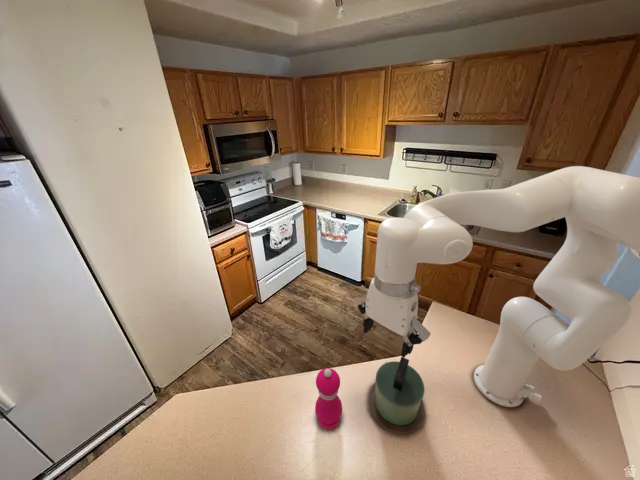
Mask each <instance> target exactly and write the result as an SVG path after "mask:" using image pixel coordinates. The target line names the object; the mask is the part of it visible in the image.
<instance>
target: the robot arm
mask: <svg viewBox="0 0 640 480" xmlns="http://www.w3.org/2000/svg"><path fill="white" fill-rule="evenodd" d="M564 218H565V222H566V228H567V229H566V230H567V232H566V238H565V241H564V243H563V244H562V245H561V247H560V248H559V250H558V251H557V252H556V254H555V255H554V256H553V257H552V258H551V260H550V261H549V262H548V263H547V265H546V266H545V267H544V269H543V270H541V272H540V273H539V275H538V276H537V278H535V281H534V282H533V285H532V288H533V291H534V293H535V294H536V295H537V296H538V297H539V298H540V299H541V300H543V301H544V302H545V303H547V304H548V305H549V306H550V307H552V308H553V309H555V310H556V311H557V312H559V313H560V314H561V315H562V316H564V317H565V318H567V319H568V320H569V321H570V323H567V322H566V321H565V320H564V319H562V318H561V317H560V316H558V315H557V313H555V312H553V311H552V310H551V309H549V308H548V307H547V306H545V305H544V304H542V303H541V302H539V301H537V300H535V299H533V298H531V297H528V296H516V297H513V298H511V299H509V300H508V301H507V302H506V303H505V304H504V305H503V307H502V310H501V312H500V318H499V320H500V321H499V328H498V331H497V334H496V336H495V339H494V341H493V344H492V346H491V348H490V351H489V352H488V355H487V358H486V360H485V363H484V364H480V365H478V367H476V368H475V370H474V371H473V381H474V384H475V385H476V387H477V389H478V390H479V391H480V393H481V394H482V395H483V396H484V397H486V398H487V400H490V401H491V402H493V403H495V404H497V405H499V406H502V407H505V408H516V407H518V406H520V405H521V404H522V403H523V402H524V400H525V399H527V398H528V399H531V400H532V401H534V402H537V403H539V404H540V403H542V399H543V397H542V395H541V394H538V393H536V392H535V390H536V388H535V386H534V385H531V384H529V383H528V384H527V383H526V381H527V379H528V378H529V375H530V374H531V372H532V370H533V368H534V367H535V365H536V364H537V362H538V360H539V358H540V359H541V360H542V361H543V362H544V363H546V365H548V366H549V367H551V368H553V369H554V370H556V371H562V372H567V371H568V372H569V371H572V370H575V369H577V368H578V367H580V366H581V365H582V364H584V363H585V362H586V361H588V360H589V359H590V358H591V357H592V356H593V355H594V354H595V353H596V352H597V351H598V350H600V349H601V348H602V347H603V346H604V345H605V344H606V343H607V342H608V341H610V340H611V338H612V337H614V336H615V335H616V334H617V333H618V332H619V331H620V330H621V329H622V328H623V327H624V326H626V324H627V323H628V321H629V319H630V317H631V315H632V312H633V311H632V305H631V303H630V301H629V300H628V298H626V297H625V296H623V295H622V294H620V293H618V291H616V290H613V289H612V288H610V287H609V286H606V285H604V284H603V283H601V279H602V277H603V276H604V275H605V274H606V273H607V272H608V271H609V269H610V268H611V267H612V266H613V264H615V262H616V261H617V257H618V244H619V245H622V246H625V247H626V248H629V249H631V250H635V251H638V252H640V177H637V176H633V175H629V174H623V173H619V172H614V171H611V170H610V171H609V170H604V169H600V168H594V167H590V166H584V165H574V166H573V165H572V166H567V167H563V168H560V169H556V170H554V171H551V172H548V173H545V174H542V175H539V176H537V177H534V178H530V179H527V180H525V181H522V182H519V183H517V184H514V185H510V186H507V187H505V188H499V189H498V188H497V189H496V188H495V189H494V188H493V189H480V190H469V191H459V192H452V193H447V194H442V195H439V196H436V197H434V198H431V199H428V200H425V201H423V202H420V203H419V204H417V205H414V206H413V207H412V208H411V209H409V210H408V211H407V212H406V214H405V216H404V217H391V218H387V219H384V220H383V221H382V222H381V223H380V224H379V225H378V229H377V236H376V250H375V261H374V274H373V277H372V278H371V281H370V284H369V287H368V290H367V294H357V295H356V296H355V297H354V300H355V303H356V305H357V309H358V311H359V312H360V314H361V315H360V317H361V319H363V320H362V321H363V322H362V326H363V333H364V334H368V333H369V331H370V330H371V329H372V328H373V327H374V322H376V323H378V324H379V325H381V326H383V327H385V328H386V329H387V330H390V331H391V332H393V333H395V334H397V335H399V336H401V337H402V339H403V341H404V342H403V343H402V347H401V353H400V356H401V357H403V358H406V356H407V355H410V354H411V353H412V352H413V349H414V345H421V344H422V342H425V341H427V340H429V338H430V336H431V332H430V331H429V330H428V329H427V327H425V326H424V324H423V323H421V322H420V321H419V319H418V313H419V312H418V311H419V310H418V309H419V295H418V293H420V291H421V289H422V286H421V285H419V284H418V283H417V282H416V281H417V277H416V272H417V268H418V264H419V263H420V264H432V265H452V264H455V263H456V264H457V263H459V262H461V261H463V260H465V259H466V258H467V257H468V256H469V255H470V253H471V252H472V249H473V246H474V241H473V238H472V235H471V234H470V233H469V231H468V230H467V229H466V228H464V227H463V225H464V226H465V225H466V226H468V225H469V226H476V227H481V228H485V229H489V230H494V231H500V232H501V231H502V232H508V233H523V232H526V231H529V230H531V229H534V228H535V229H536V228H537V227H540V226H543V225H546V224H549V223H551V222H554V221H557V220H561V219H564Z"/></svg>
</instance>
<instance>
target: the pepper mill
mask: <svg viewBox="0 0 640 480" xmlns="http://www.w3.org/2000/svg"><path fill="white" fill-rule="evenodd" d="M315 386H316V389H317V391H318V394H319V395H318V396H317V399H316V401H315V406H314V409H315V414H316V415H315V416H316V417H317V421H318V424H319V425H320V426H321V427H322V428H324V429H326V430H333V429H334V428H336V427H337V426H338V425H339V424H340V421H341V416H342V413H343V403H342V401H341V398H340V397H339V395H338V394H339V390H340V386H341V377H340V375H339V373H338V372H337V371H336V370H335V369H333V368H330V367H325V368H323V369H321V370H320V371H319V372H318V373H317V375H316V378H315Z"/></svg>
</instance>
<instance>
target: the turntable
mask: <svg viewBox="0 0 640 480" xmlns="http://www.w3.org/2000/svg"><path fill="white" fill-rule="evenodd" d="M375 386H376V381H375V382H374V383H373V384H372V385H371V387H370V390H369V392H368V393H369V394H368V407H369V410H370V413H371V415H372V417H373V418H374V420H375V421H376V423H377V424H378V425H379V426H380V427H382V428H383V429H384V430H386V431H388V432H390V433H392V434H395V435H409V434H412V433H414V432H415V431H417V430H418V429H419V428H420V426H421V425H422V423H423V421H424V417H425V416H424V415H425V406H424V401H423V399H422V400H421V403H420V407H419V411H418V414H417V417H416V418H415V420H414V421H413V422H411V423H409V424H406V425H396V424H393V423H391V422H389V421H387V420H386V419H385V418H383V417H382V416H381V414H380V413H379V412H378V410H377V408H376V405H375V401H374V395H375Z"/></svg>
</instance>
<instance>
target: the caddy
mask: <svg viewBox="0 0 640 480" xmlns="http://www.w3.org/2000/svg"><path fill="white" fill-rule="evenodd" d="M409 363H410V359H408V358H406V357H402V356H401V357H400V360H399V361H396V360H395V361H393V360H392V361H387V362H384V363H383V364H382V365H381V366H380V367H378V369H377V371H376V374H375V382H376V386H375V395H374V401H375V405H376V408H377V410H378V412H379V413H380V414H381V416H382V417H383V418H385V419H386V420H387V421H389V422H391V423H393V424H396V425H406V424H409V423H411V422H413V421H414V420H415V418H416V417H417V414H418V411H419V407H420V403H421V400H422V401H423V398H424V397H425V396H424V395H425V383H424V381H423V378H422V377H421V375H420V373H419V372H418V371H417V370H416V369H414V368H413V367H412V366H410V365H409Z"/></svg>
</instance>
